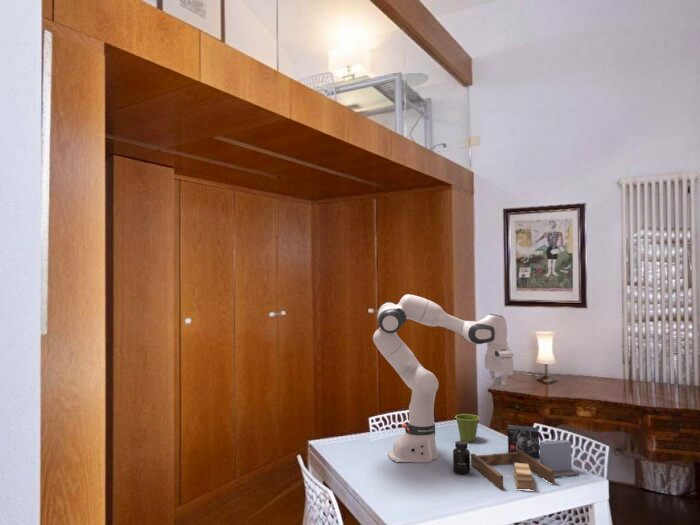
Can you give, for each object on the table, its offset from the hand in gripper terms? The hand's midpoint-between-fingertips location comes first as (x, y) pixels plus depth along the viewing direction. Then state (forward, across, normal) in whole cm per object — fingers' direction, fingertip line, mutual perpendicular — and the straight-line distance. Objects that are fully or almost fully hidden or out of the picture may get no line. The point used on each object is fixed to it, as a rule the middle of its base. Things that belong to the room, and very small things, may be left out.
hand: (498, 382), depth 220 cm
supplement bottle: (+33, +11, -23) cm, 42 cm away
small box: (+33, -2, +12) cm, 36 cm away
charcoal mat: (+33, +19, +14) cm, 41 cm away
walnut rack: (+33, +18, -5) cm, 38 cm away
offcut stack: (+33, +27, -5) cm, 43 cm away
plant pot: (+33, -28, -3) cm, 44 cm away
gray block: (+32, +19, +14) cm, 40 cm away
